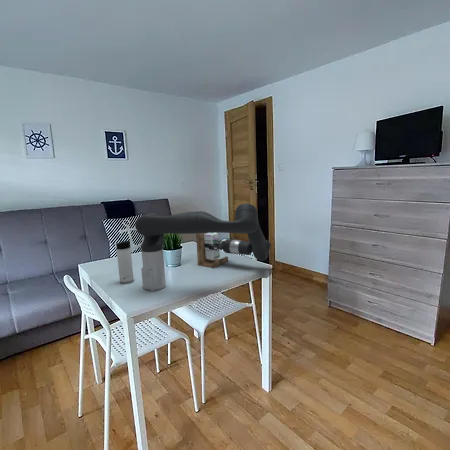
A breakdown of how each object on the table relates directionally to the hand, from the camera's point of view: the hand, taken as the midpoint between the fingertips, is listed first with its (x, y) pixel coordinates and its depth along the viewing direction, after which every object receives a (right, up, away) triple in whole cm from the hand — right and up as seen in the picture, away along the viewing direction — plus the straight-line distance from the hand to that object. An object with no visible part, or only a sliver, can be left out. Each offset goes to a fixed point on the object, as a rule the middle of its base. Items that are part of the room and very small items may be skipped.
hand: (208, 244), depth 157 cm
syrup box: (+2, -8, 0) cm, 9 cm away
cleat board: (+3, -11, 0) cm, 11 cm away
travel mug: (-38, -17, -23) cm, 47 cm away
